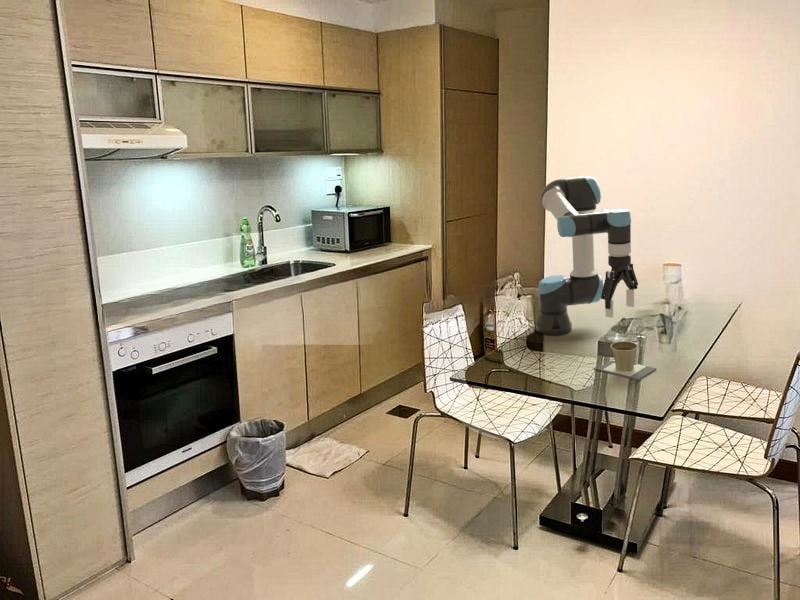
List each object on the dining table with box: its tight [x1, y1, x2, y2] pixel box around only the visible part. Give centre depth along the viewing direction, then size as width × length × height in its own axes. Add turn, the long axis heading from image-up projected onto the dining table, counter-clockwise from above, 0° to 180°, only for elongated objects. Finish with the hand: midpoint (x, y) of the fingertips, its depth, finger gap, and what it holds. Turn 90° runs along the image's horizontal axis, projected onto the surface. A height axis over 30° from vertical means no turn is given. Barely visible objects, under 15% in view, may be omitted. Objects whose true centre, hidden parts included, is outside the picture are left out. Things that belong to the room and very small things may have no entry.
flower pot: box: [610, 340, 639, 371], centre depth 240 cm, size 9×9×9 cm
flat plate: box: [593, 361, 657, 381], centre depth 242 cm, size 12×18×1 cm, turn 40°
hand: (620, 311), depth 238 cm, fingers open, 13 cm apart
